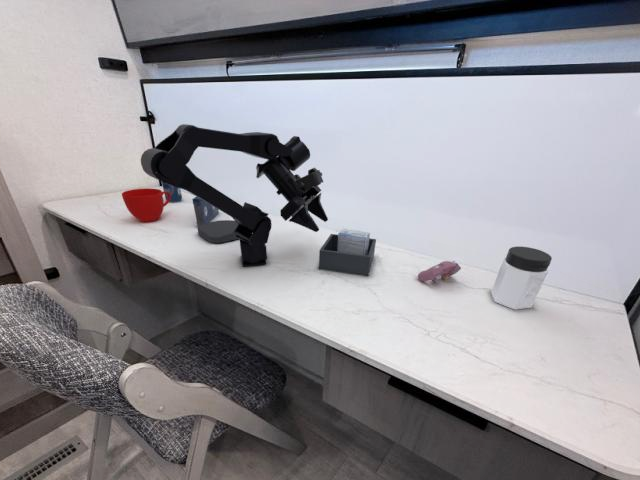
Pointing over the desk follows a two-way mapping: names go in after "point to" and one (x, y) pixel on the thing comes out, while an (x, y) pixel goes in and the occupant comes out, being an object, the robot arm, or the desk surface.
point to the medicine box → (353, 241)
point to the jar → (520, 277)
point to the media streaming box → (218, 231)
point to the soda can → (172, 192)
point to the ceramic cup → (145, 203)
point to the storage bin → (345, 258)
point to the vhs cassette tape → (204, 211)
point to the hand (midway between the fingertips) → (322, 225)
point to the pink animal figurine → (439, 271)
